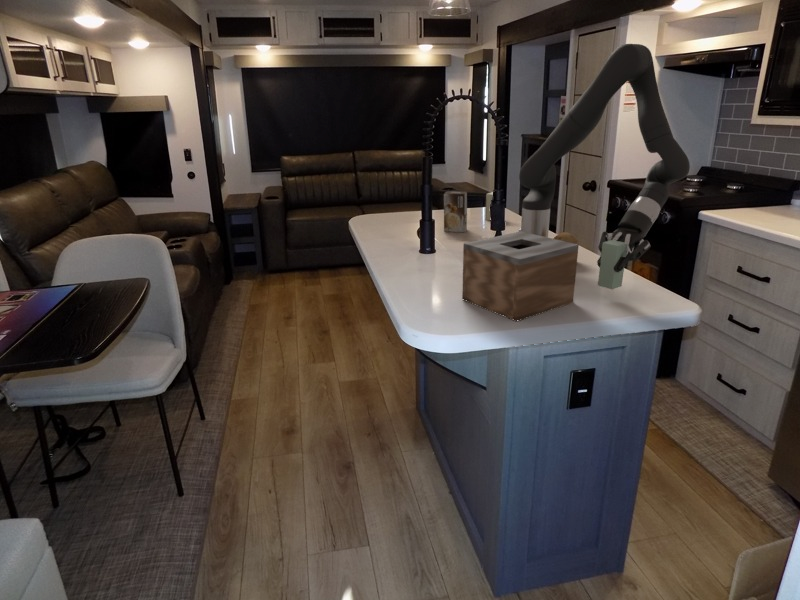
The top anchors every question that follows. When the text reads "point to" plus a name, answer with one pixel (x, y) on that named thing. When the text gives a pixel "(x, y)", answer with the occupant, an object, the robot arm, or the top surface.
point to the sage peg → (611, 264)
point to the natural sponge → (566, 237)
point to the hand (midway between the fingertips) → (607, 268)
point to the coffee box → (455, 211)
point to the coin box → (519, 274)
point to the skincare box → (488, 205)
